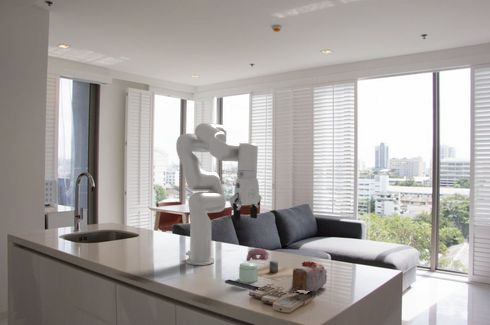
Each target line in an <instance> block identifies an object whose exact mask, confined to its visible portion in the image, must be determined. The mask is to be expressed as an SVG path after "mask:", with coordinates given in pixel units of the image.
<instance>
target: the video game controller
mask: <svg viewBox="0 0 490 325" xmlns="http://www.w3.org/2000/svg"><path fill="white" fill-rule="evenodd" d="M269 255H270V253H269V252H268V251H267V250H266V249H264V248H259V247H258V248H251V249H250V250H248V252H247V255H246V260H245V261H246V262H250V260H252V261H254V260H257V259H263V260H264V261H267V260H269ZM258 256H259V257H258Z"/></svg>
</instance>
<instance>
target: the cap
mask: <svg viewBox="0 0 490 325" xmlns="http://www.w3.org/2000/svg"><path fill="white" fill-rule="evenodd" d="M238 270H239V271H238V273H239V274H238V278H239V279H238V280H239V281H238V282H239V283H243V284H246V283H255V282H258V280H259V279H258V278H259V276H258V264H257V263H255V262H242V263H239V267H238Z"/></svg>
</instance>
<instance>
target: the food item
mask: <svg viewBox="0 0 490 325" xmlns="http://www.w3.org/2000/svg"><path fill="white" fill-rule="evenodd" d="M292 269H293V276H292V280H291V282H292V283H291V286H292V288H293V289H295V290H305V291H312V292H318V291H319V289H320V288H323V287H324V285H326V283H327V280H328V279H327V278H328V276H327V272H328V270H326V268H325V267H324V265H322V264H321V263H318V262H314V261H303V262H301V266H298V267H294V268H292Z"/></svg>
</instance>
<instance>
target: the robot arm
mask: <svg viewBox="0 0 490 325" xmlns="http://www.w3.org/2000/svg"><path fill="white" fill-rule="evenodd" d="M175 147H176V148H175V149H176V153H177V156H178V159H179V160H180V164H181V165H182V168H183V173H184V178H185V181H186V185H187V188H188V190H189V191H192V192H194V193H192V194H191V195H190V196H189V197H188V200H187V201H188V209H189V219H190V220H189V221H190V222H189V223H190V224H189V231H190V234H189V241H190V242H189V246H190V247H189V250H188V251H186V252H185V255H186V256H188V258H187V259H186V264H188V265H193V266H206V265H207V266H208V265H212V264H214V263H215V258H214V257H212V220H211V219H210V217H209V215H208V214H212V213H220V212H223V211H224V210H225V208H226V203H227V202H226V201H227V200H226V195H225V193H224V192H225V191H224V189H223V186H222V182H221V178H220V176H219V175H218V173H217V172H216V171H212V170H204V169H203V168H202V163H201V161H200V159H199V157H198V156H196V154H194V152H196V153H209V154H210V155H211V156H212V157H214V158H215V159H216V160H219V161H221V162H222V161H223V162H237V172H236V181H235V184H234V191H233V193H234V194H233V195H232V196H231V197H230V198H229V199H228V200H229V203H230V204H229V205H230V206H231V208H232V210H233V213H232V220H233V221H238V222H240V221H241V207H242V205H243V206H250V210H249V212H250V213H249V218H251V219H257V218H258V209H259V205H260V204H261V200H262V196H261V195H260V188H259V187H260V185H259V178H258V175H257V173H258V154H259V153H258V152H259V151H258V150H259V147H258V145H257V144H256V143H252V142H251V143H250V142H248V143H247V142H243V143H242V142H231V141H230V142H229V141H227V130H226V127H225V126H224V125H222V124H220V123H219V124H217V123H209V122H202V123H199V124H198V125H196V127H195V129H194V133H184V134H183V133H182V134H180V135H179V136H178V137H177V140H176V146H175Z"/></svg>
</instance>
